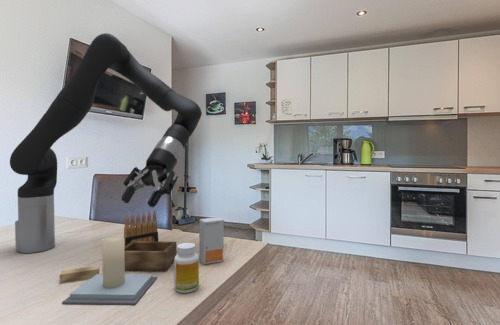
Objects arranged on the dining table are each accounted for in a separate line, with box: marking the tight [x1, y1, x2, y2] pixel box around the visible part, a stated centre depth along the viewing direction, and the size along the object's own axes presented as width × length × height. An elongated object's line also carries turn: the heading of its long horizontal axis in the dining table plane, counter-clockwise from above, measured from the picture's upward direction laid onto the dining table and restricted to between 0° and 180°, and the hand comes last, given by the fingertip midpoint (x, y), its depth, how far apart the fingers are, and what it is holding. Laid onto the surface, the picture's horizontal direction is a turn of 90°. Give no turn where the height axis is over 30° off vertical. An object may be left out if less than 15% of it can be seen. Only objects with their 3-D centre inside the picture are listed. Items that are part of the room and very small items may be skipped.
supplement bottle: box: [173, 242, 200, 294], centre depth 62 cm, size 5×5×10 cm
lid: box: [69, 235, 153, 300], centre depth 61 cm, size 14×10×11 cm
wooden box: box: [124, 240, 178, 273], centre depth 76 cm, size 13×9×5 cm
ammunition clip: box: [123, 210, 159, 247], centre depth 88 cm, size 11×2×12 cm, turn 132°
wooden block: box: [59, 265, 100, 285], centre depth 67 cm, size 8×2×2 cm, turn 113°
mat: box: [61, 276, 158, 306], centre depth 61 cm, size 15×12×1 cm
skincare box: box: [198, 216, 225, 265], centre depth 78 cm, size 6×4×12 cm
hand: (137, 203), depth 71 cm, fingers open, 8 cm apart
